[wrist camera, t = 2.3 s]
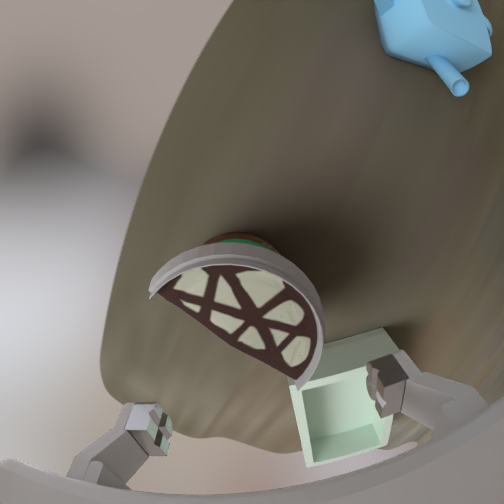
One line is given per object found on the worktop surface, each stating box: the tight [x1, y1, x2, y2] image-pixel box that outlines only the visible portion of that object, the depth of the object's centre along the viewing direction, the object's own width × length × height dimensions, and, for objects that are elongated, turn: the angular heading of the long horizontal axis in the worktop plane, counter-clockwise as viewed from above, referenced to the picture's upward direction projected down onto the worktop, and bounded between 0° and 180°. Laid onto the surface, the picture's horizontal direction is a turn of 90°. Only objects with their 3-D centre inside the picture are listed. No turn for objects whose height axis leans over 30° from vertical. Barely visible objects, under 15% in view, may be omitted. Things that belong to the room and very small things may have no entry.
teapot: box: [373, 0, 493, 97], centre depth 13 cm, size 18×14×10 cm
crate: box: [287, 327, 399, 468], centre depth 28 cm, size 11×17×5 cm, turn 13°
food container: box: [148, 232, 325, 391], centre depth 20 cm, size 12×6×10 cm, turn 51°
